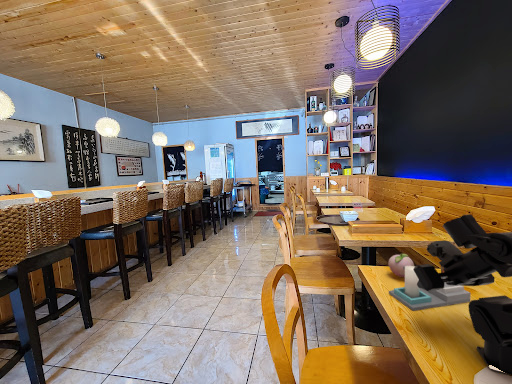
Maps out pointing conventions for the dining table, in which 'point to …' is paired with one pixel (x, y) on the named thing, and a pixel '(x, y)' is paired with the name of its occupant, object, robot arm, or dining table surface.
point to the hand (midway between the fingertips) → (432, 284)
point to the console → (432, 297)
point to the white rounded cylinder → (411, 282)
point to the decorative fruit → (399, 264)
